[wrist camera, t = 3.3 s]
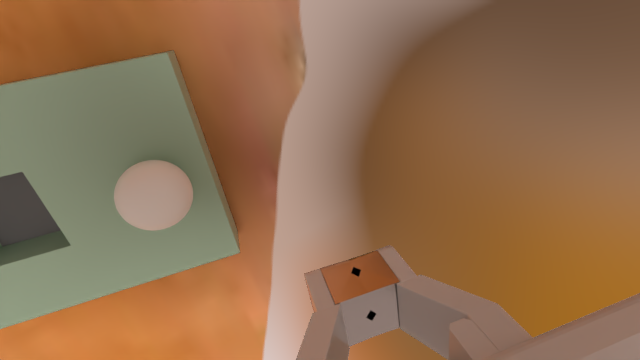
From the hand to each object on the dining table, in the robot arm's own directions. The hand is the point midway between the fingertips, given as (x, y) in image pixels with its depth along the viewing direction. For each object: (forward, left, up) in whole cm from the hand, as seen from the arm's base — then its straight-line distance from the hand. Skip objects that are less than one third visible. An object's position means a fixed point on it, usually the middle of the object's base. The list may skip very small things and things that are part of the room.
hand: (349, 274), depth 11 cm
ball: (0, -8, -11) cm, 13 cm away
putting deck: (0, -13, -16) cm, 20 cm away
